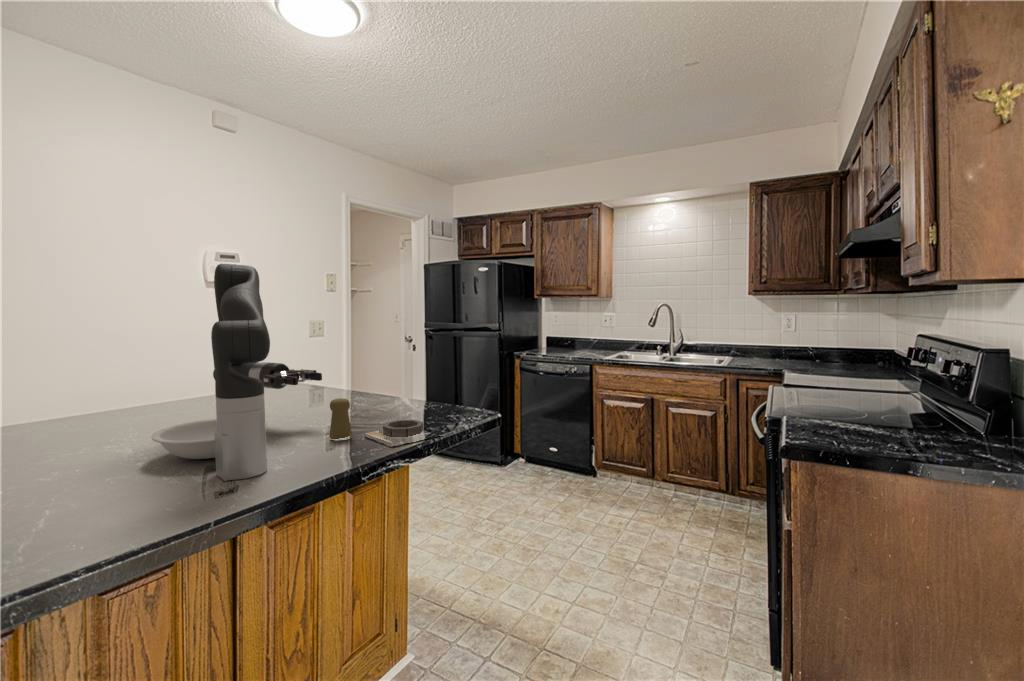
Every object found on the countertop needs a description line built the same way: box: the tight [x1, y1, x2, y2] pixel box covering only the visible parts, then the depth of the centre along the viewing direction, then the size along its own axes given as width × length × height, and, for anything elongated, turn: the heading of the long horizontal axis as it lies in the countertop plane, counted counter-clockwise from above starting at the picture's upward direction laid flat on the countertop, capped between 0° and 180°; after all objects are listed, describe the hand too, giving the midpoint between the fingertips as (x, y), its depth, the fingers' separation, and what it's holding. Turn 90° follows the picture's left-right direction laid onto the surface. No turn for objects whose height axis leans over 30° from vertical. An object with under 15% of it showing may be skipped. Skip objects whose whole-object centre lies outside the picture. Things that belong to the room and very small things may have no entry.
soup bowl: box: [151, 418, 268, 460], centre depth 121 cm, size 24×24×7 cm
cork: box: [328, 397, 353, 439], centre depth 135 cm, size 6×6×11 cm
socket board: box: [364, 419, 424, 443], centre depth 137 cm, size 16×14×4 cm
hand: (309, 379), depth 140 cm, fingers open, 8 cm apart
